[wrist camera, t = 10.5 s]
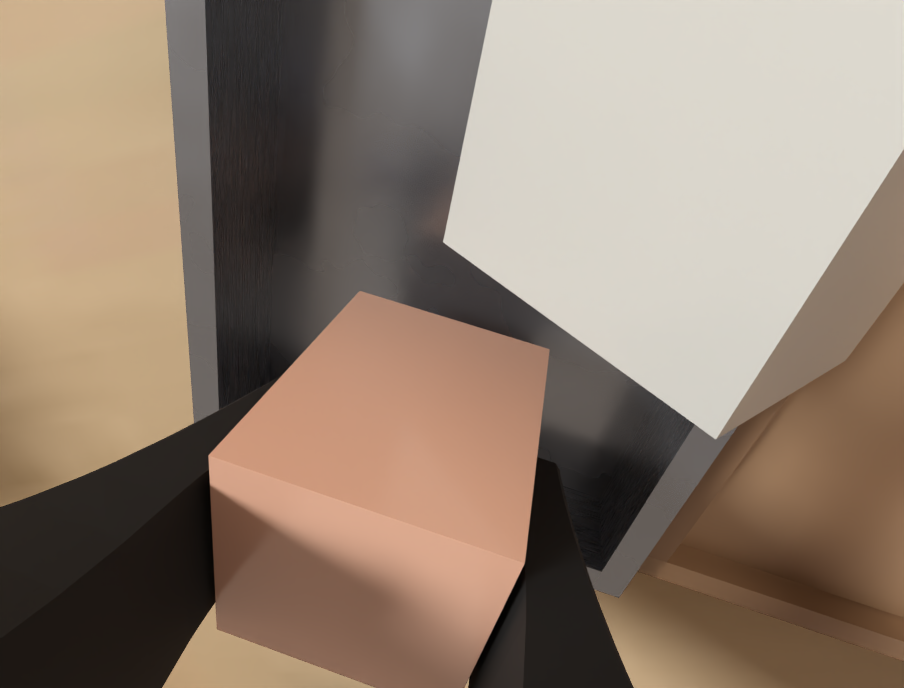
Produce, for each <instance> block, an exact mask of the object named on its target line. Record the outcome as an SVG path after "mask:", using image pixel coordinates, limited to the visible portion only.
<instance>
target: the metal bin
mask: <svg viewBox="0 0 904 688" xmlns="http://www.w3.org/2000/svg"><path fill="white" fill-rule="evenodd" d="M491 5H492V0H165V11H166V25H167V40H168V54H169V69H170V83H171V97H172V112H173V126H174V140H175V155H176V169H177V184H178V198H179V212H180V227H181V241H182V256H183V270H184V284H185V299H186V313H187V327H188V342H189V356H190V371H191V385H192V399H193V414H194V423H195V422H197V421H199V420H201V419H203V418H205V417H207V416H209V415H211V414H213V413H214V412H216V411H218V410H220V409H222V408H224V407H225V406H227V405H229V404H231V403H233V402H235V401H236V400H238V399H240V398H242V397H244V396H245V395H247V394H249V393H251V392H253V391H254V390H256V389H258V388H260V387H262V386H263V385H265V384H267V383H269V382H271V381H273V380H275V379H277V378H278V377H280V376H282V375H283V374H284V373H285V372H286V371H287V369H288V368H289V367H290V366H291V365H292V364H293V363H294V362H295V361H296V360H297V359H298V357H299V356H300V355H301V354H302V353H303V352H304V351H305V350H306V349H307V348H308V347H309V346H310V344H311V343H312V342H313V341H314V340H315V339H316V338H317V337H318V336H319V335H320V334H321V332H322V331H323V330H324V329H325V328H326V327H327V326H328V325H329V324H330V323H331V322H332V320H333V319H334V318H335V317H336V316H337V315H338V314H339V313H340V312H341V311H342V310H343V308H344V307H345V306H346V305H347V304H348V303H349V302H350V301H351V300H352V299H353V298H354V297H355V295H356V294H357V293H358V292H359V291H362V292H365V293H369V294H372V295H375V296H378V297H382V298H385V299H388V300H391V301H395V302H398V303H401V304H404V305H408V306H411V307H414V308H417V309H421V310H424V311H427V312H430V313H434V314H437V315H440V316H443V317H446V318H450V319H453V320H456V321H459V322H463V323H466V324H469V325H472V326H476V327H479V328H482V329H485V330H489V331H492V332H495V333H498V334H502V335H505V336H508V337H511V338H515V339H518V340H521V341H524V342H528V343H531V344H534V345H537V346H541V347H544V348H547V349H550V350H549V359H548V368H547V376H546V385H545V393H544V402H543V411H542V419H541V428H540V437H539V445H538V454H537V457H539V458H542V459H545V460H548V461H551V462H554V463H556V464H557V466H558V468H559V469H560V474H561V479H562V483H563V488H564V492H565V496H566V500H567V504H568V508H569V512H570V515H571V519H572V522H573V526H574V530H575V533H576V536H577V540H578V543H579V546H580V549H581V552H582V555H583V558H584V561H585V564H586V567H587V570H588V573H589V577H590V580H591V583H592V586H593V588H594V589H595V590H598V591H600V592H603V593H606V594H609V595H612V596H615V597H618V598H619V597H620V595H621V594H622V593H623V591H624V590H625V588H626V587H627V585H628V584H629V583H630V581H631V580H632V578H633V577H634V575H635V574H636V572H637V571H638V570H639V568H640V567H641V565H642V564H643V562H644V561H645V559H646V558H647V557H648V555H649V554H650V552H651V551H652V549H653V548H654V546H655V545H656V544H657V542H658V541H659V539H660V538H661V536H662V535H663V534H664V532H665V531H666V529H667V528H668V526H669V525H670V523H671V522H672V521H673V519H674V518H675V516H676V515H677V513H678V512H679V510H680V509H681V508H682V506H683V505H684V503H685V502H686V500H687V499H688V497H689V496H690V495H691V493H692V492H693V490H694V489H695V487H696V486H697V485H698V483H699V482H700V480H701V479H702V477H703V476H704V474H705V473H706V472H707V470H708V469H709V467H710V466H711V464H712V463H713V461H714V460H715V459H716V457H717V456H718V454H719V453H720V451H721V450H722V448H723V447H724V446H725V444H726V443H727V441H728V440H729V438H730V437H731V436H732V434H733V433H734V431H735V430H736V428H737V427H738V426H737V427H736V428H734V429H732V430H731V431H729V432H727V433H726V434H724V435H722V436H721V437H719V438H718V439H714V438H713V437H712V436H710V435H709V434H707V433H706V432H705V431H703V430H702V429H700V428H699V427H698V426H696V425H695V424H694V423H692V422H691V421H689V420H688V419H687V418H685V417H684V416H682V415H681V414H680V413H678V412H677V411H676V410H674V409H673V408H671V407H670V406H669V405H667V404H666V403H665V402H663V401H662V400H660V399H659V398H658V397H656V396H655V395H653V394H652V393H651V392H649V391H648V390H647V389H645V388H644V387H642V386H641V385H640V384H638V383H637V382H636V381H634V380H633V379H631V378H630V377H629V376H627V375H626V374H624V373H623V372H622V371H620V370H619V369H618V368H616V367H615V366H613V365H612V364H611V363H609V362H608V361H606V360H605V359H604V358H602V357H601V356H600V355H598V354H597V353H595V352H594V351H593V350H591V349H590V348H589V347H587V346H586V345H584V344H583V343H582V342H580V341H579V340H577V339H576V338H575V337H573V336H572V335H571V334H569V333H568V332H566V331H565V330H564V329H562V328H561V327H559V326H558V325H557V324H555V323H554V322H553V321H551V320H550V319H548V318H547V317H546V316H544V315H543V314H542V313H540V312H539V311H537V310H536V309H535V308H533V307H532V306H530V305H529V304H528V303H526V302H525V301H524V300H522V299H521V298H519V297H518V296H517V295H515V294H514V293H512V292H511V291H510V290H508V289H507V288H506V287H504V286H503V285H501V284H500V283H499V282H497V281H496V280H495V279H493V278H492V277H490V276H489V275H488V274H486V273H485V272H483V271H482V270H481V269H479V268H478V267H477V266H475V265H474V264H472V263H471V262H470V261H468V260H467V259H465V258H464V257H463V256H461V255H460V254H459V253H457V252H456V251H454V250H453V249H452V248H450V247H449V246H448V245H446V244H445V243H443V240H444V235H445V230H446V225H447V220H448V216H449V211H450V206H451V201H452V196H453V191H454V186H455V181H456V176H457V171H458V166H459V162H460V157H461V152H462V147H463V142H464V137H465V132H466V127H467V122H468V117H469V113H470V108H471V103H472V98H473V93H474V88H475V83H476V78H477V73H478V68H479V63H480V59H481V54H482V49H483V44H484V39H485V34H486V29H487V24H488V19H489V14H490V10H491Z"/></svg>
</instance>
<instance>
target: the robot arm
mask: <svg viewBox="0 0 904 688" xmlns="http://www.w3.org/2000/svg"><path fill="white" fill-rule="evenodd" d="M280 377H281V376H280ZM280 377H278V378H277V379H275V380H273V381H271V382H269V383H267V384H265V385H263V386H262V387H260V388H258V389H256V390H254V391H253V392H251V393H249V394H247V395H245V396H244V397H242V398H240V399H238V400H236V401H235V402H233V403H231V404H229V405H227V406H225V407H224V408H222V409H220V410H218V411H216V412H214V413H213V414H211V415H209V416H207V417H205V418H203V419H201V420H199V421H197V422H195V423H194V424H192V425H190V426H188V427H186V428H184V429H182V430H180V431H178V432H176V433H174V434H172V435H170V436H168V437H166V438H164V439H162V440H160V441H158V442H156V443H154V444H152V445H150V446H148V447H146V448H143V449H141V450H139V451H137V452H135V453H133V454H131V455H129V456H127V457H124V458H122V459H120V460H118V461H116V462H114V463H112V464H109V465H107V466H105V467H102V468H100V469H98V470H96V471H93V472H91V473H89V474H86V475H84V476H82V477H79V478H77V479H74V480H72V481H69V482H67V483H64V484H62V485H59V486H56V487H54V488H51V489H49V490H46V491H44V492H41V493H39V494H36V495H33V496H31V497H28V498H25V499H23V500H20V501H17V502H14V503H11V504H8V505H6V506H3V507H0V688H162V687H163V685H164V683H165V682H166V680H167V678H168V677H169V675H170V673H171V671H172V670H173V668H174V666H175V665H176V663H177V661H178V659H179V658H180V656H181V654H182V653H183V651H184V649H185V648H186V646H187V644H188V642H189V641H190V639H191V638H192V636H193V635H194V633H195V631H196V630H197V628H198V627H199V625H200V624H201V622H202V621H203V619H204V618H205V616H206V615H207V613H208V612H209V610H210V609H211V608H212V606H213V605H214V603H215V602H216V600H215V580H214V559H213V538H212V518H211V497H210V476H209V456H208V455H209V454H210V453H211V452H212V451H213V450H214V449H215V448H216V447H217V446H218V445H219V444H220V442H221V441H222V440H223V439H224V438H225V437H226V436H227V435H228V434H229V433H230V432H231V430H232V429H233V428H234V427H235V426H236V425H237V424H238V423H239V422H240V421H241V420H242V418H243V417H244V416H245V415H246V414H247V413H248V412H249V411H250V410H251V409H252V408H253V406H254V405H255V404H256V403H257V402H258V401H259V400H260V399H261V398H262V397H263V396H264V395H265V393H266V392H267V391H268V390H269V389H270V388H271V387H272V386H273V385H274V384H275V383H276V381H277V380H278V379H279V378H280ZM468 688H634V687H633V685H632V683H631V681H630V679H629V676H628V674H627V672H626V669H625V667H624V665H623V663H622V660H621V658H620V655H619V653H618V651H617V648H616V646H615V643H614V641H613V638H612V636H611V633H610V631H609V628H608V626H607V623H606V620H605V618H604V615H603V613H602V610H601V608H600V605H599V602H598V599H597V597H596V594H595V591H594V588H593V586H592V583H591V580H590V577H589V573H588V570H587V567H586V564H585V561H584V558H583V555H582V552H581V549H580V546H579V543H578V540H577V536H576V533H575V530H574V526H573V522H572V519H571V515H570V512H569V508H568V504H567V500H566V496H565V492H564V488H563V483H562V479H561V474H560V469H559V468H558V466H557V464H556V463H554V462H551V461H548V460H545V459H542V458H539V457H537V462H536V471H535V480H534V488H533V497H532V506H531V514H530V523H529V532H528V540H527V549H526V557H525V564H524V566H523V568H522V570H521V572H520V574H519V576H518V578H517V580H516V582H515V585H514V587H513V589H512V591H511V593H510V595H509V597H508V599H507V601H506V603H505V605H504V607H503V609H502V611H501V613H500V615H499V617H498V619H497V622H496V624H495V626H494V628H493V630H492V632H491V634H490V636H489V638H488V640H487V642H486V644H485V646H484V648H483V650H482V652H481V654H480V657H479V659H478V661H477V663H476V665H475V667H474V669H473V671H472V673H471V675H470V678H469V686H468Z"/></svg>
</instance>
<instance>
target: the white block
mask: <svg viewBox="0 0 904 688" xmlns="http://www.w3.org/2000/svg"><path fill="white" fill-rule="evenodd" d="M443 243H445V244H446V245H448V246H449V247H450V248H452V249H453V250H454V251H456V252H457V253H459V254H460V255H461V256H463V257H464V258H465V259H467V260H468V261H470V262H471V263H472V264H474V265H475V266H477V267H478V268H479V269H481V270H482V271H483V272H485V273H486V274H488V275H489V276H490V277H492V278H493V279H495V280H496V281H497V282H499V283H500V284H501V285H503V286H504V287H506V288H507V289H508V290H510V291H511V292H512V293H514V294H515V295H517V296H518V297H519V298H521V299H522V300H524V301H525V302H526V303H528V304H529V305H530V306H532V307H533V308H535V309H536V310H537V311H539V312H540V313H542V314H543V315H544V316H546V317H547V318H548V319H550V320H551V321H553V322H554V323H555V324H557V325H558V326H559V327H561V328H562V329H564V330H565V331H566V332H568V333H569V334H571V335H572V336H573V337H575V338H576V339H577V340H579V341H580V342H582V343H583V344H584V345H586V346H587V347H589V348H590V349H591V350H593V351H594V352H595V353H597V354H598V355H600V356H601V357H602V358H604V359H605V360H606V361H608V362H609V363H611V364H612V365H613V366H615V367H616V368H618V369H619V370H620V371H622V372H623V373H624V374H626V375H627V376H629V377H630V378H631V379H633V380H634V381H636V382H637V383H638V384H640V385H641V386H642V387H644V388H645V389H647V390H648V391H649V392H651V393H652V394H653V395H655V396H656V397H658V398H659V399H660V400H662V401H663V402H665V403H666V404H667V405H669V406H670V407H671V408H673V409H674V410H676V411H677V412H678V413H680V414H681V415H682V416H684V417H685V418H687V419H688V420H689V421H691V422H692V423H694V424H695V425H696V426H698V427H699V428H700V429H702V430H703V431H705V432H706V433H707V434H709V435H710V436H712V437H713V438H714V439H718V438H719V437H721V436H722V435H724V434H726V433H727V432H729V431H731V430H732V429H734V428H736V427H737V426H739V425H741V424H742V423H744V422H745V421H747V420H749V419H750V418H752V417H754V416H755V415H757V414H759V413H760V412H762V411H764V410H765V409H767V408H768V407H770V406H772V405H773V404H775V403H777V402H778V401H780V400H782V399H783V398H785V397H787V396H788V395H790V394H791V393H793V392H795V391H796V390H798V389H800V388H801V387H803V386H805V385H806V384H808V383H810V382H811V381H813V380H815V379H816V378H818V377H819V376H821V375H823V374H824V373H826V372H828V371H829V370H831V369H833V368H834V367H836V366H838V365H839V364H841V363H842V362H844V361H846V359H847V358H848V357H849V355H850V354H851V353H852V351H853V350H854V349H855V347H856V346H857V345H858V343H859V342H860V341H861V339H862V338H863V337H864V335H865V334H866V333H867V331H868V330H869V329H870V327H871V326H872V325H873V323H874V322H875V321H876V319H877V318H878V317H879V315H880V314H881V313H882V311H883V310H884V309H885V307H886V306H887V305H888V303H889V302H890V300H891V299H892V298H893V296H894V295H895V294H896V292H897V291H898V290H899V288H900V287H901V286H902V284H903V283H904V0H492V5H491V10H490V14H489V19H488V24H487V29H486V34H485V39H484V44H483V49H482V54H481V59H480V63H479V68H478V73H477V78H476V83H475V88H474V93H473V98H472V103H471V108H470V113H469V117H468V122H467V127H466V132H465V137H464V142H463V147H462V152H461V157H460V162H459V166H458V171H457V176H456V181H455V186H454V191H453V196H452V201H451V206H450V211H449V216H448V220H447V225H446V230H445V235H444V240H443Z"/></svg>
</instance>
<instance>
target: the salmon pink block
mask: <svg viewBox="0 0 904 688" xmlns="http://www.w3.org/2000/svg"><path fill="white" fill-rule="evenodd" d="M549 350H550V349H547V348H544V347H541V346H537V345H534V344H531V343H528V342H524V341H521V340H518V339H515V338H511V337H508V336H505V335H502V334H498V333H495V332H492V331H489V330H485V329H482V328H479V327H476V326H472V325H469V324H466V323H463V322H459V321H456V320H453V319H450V318H446V317H443V316H440V315H437V314H434V313H430V312H427V311H424V310H421V309H417V308H414V307H411V306H408V305H404V304H401V303H398V302H395V301H391V300H388V299H385V298H382V297H378V296H375V295H372V294H369V293H365V292H362V291H359V292H358V293H357V294H356V295H355V297H354V298H353V299H352V300H351V301H350V302H349V303H348V304H347V305H346V306H345V307H344V308H343V310H342V311H341V312H340V313H339V314H338V315H337V316H336V317H335V318H334V319H333V320H332V322H331V323H330V324H329V325H328V326H327V327H326V328H325V329H324V330H323V331H322V332H321V334H320V335H319V336H318V337H317V338H316V339H315V340H314V341H313V342H312V343H311V344H310V346H309V347H308V348H307V349H306V350H305V351H304V352H303V353H302V354H301V355H300V356H299V357H298V359H297V360H296V361H295V362H294V363H293V364H292V365H291V366H290V367H289V368H288V369H287V371H286V372H285V373H284V374H283V375H282V376H281V377H280V378H279V379H278V380H277V381H276V383H275V384H274V385H273V386H272V387H271V388H270V389H269V390H268V391H267V392H266V393H265V395H264V396H263V397H262V398H261V399H260V400H259V401H258V402H257V403H256V404H255V405H254V406H253V408H252V409H251V410H250V411H249V412H248V413H247V414H246V415H245V416H244V417H243V418H242V420H241V421H240V422H239V423H238V424H237V425H236V426H235V427H234V428H233V429H232V430H231V432H230V433H229V434H228V435H227V436H226V437H225V438H224V439H223V440H222V441H221V442H220V444H219V445H218V446H217V447H216V448H215V449H214V450H213V451H212V452H211V453H210V454H209V455H208V456H209V476H210V497H211V518H212V538H213V559H214V580H215V600H216V621H217V629H218V630H220V631H223V632H226V633H229V634H231V635H234V636H237V637H239V638H242V639H245V640H248V641H250V642H253V643H256V644H259V645H261V646H264V647H267V648H269V649H272V650H275V651H278V652H280V653H283V654H286V655H288V656H291V657H294V658H297V659H299V660H302V661H305V662H308V663H310V664H313V665H316V666H318V667H321V668H324V669H327V670H329V671H332V672H335V673H337V674H340V675H343V676H346V677H348V678H351V679H354V680H357V681H359V682H362V683H365V684H367V685H370V686H373V687H376V688H464V687H465V685H466V683H467V681H468V679H469V677H470V675H471V673H472V671H473V669H474V667H475V665H476V663H477V661H478V659H479V657H480V654H481V652H482V650H483V648H484V646H485V644H486V642H487V640H488V638H489V636H490V634H491V632H492V630H493V628H494V626H495V624H496V622H497V619H498V617H499V615H500V613H501V611H502V609H503V607H504V605H505V603H506V601H507V599H508V597H509V595H510V593H511V591H512V589H513V587H514V585H515V582H516V580H517V578H518V576H519V574H520V572H521V570H522V568H523V566H524V564H525V557H526V549H527V540H528V532H529V523H530V514H531V506H532V497H533V488H534V480H535V471H536V462H537V454H538V445H539V437H540V428H541V419H542V411H543V402H544V393H545V385H546V376H547V368H548V359H549Z"/></svg>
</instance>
